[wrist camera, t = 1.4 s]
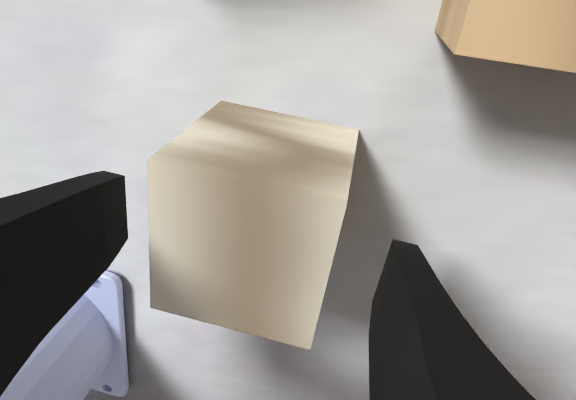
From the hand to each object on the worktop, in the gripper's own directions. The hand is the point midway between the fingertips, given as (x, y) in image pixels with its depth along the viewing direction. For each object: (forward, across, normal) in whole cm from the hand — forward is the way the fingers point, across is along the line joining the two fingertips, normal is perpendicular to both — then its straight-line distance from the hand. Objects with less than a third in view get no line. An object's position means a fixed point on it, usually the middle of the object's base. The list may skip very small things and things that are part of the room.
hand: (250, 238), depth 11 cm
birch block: (+4, 0, 0) cm, 4 cm away
